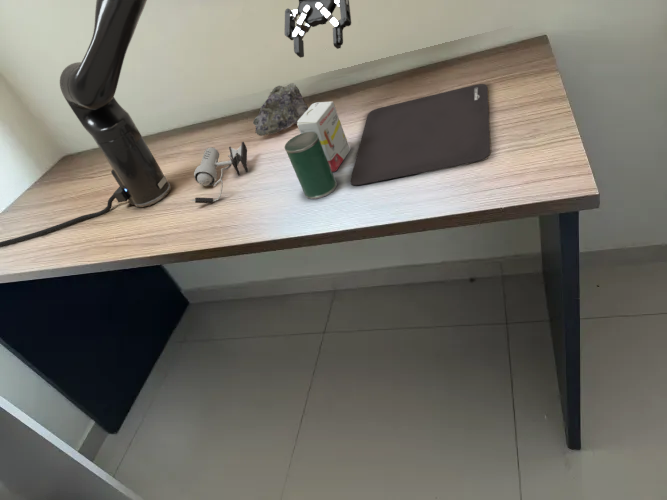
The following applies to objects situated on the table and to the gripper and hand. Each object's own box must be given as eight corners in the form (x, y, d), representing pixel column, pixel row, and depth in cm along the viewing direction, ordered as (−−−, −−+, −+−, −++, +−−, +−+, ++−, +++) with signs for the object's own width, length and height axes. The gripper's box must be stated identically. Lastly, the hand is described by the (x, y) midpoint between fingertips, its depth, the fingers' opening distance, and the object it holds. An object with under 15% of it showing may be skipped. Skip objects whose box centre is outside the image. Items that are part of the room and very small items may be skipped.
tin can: (300, 201, 126) (279, 153, 119) (310, 181, 130) (291, 135, 124) (331, 197, 123) (311, 148, 117) (340, 177, 128) (322, 129, 121)
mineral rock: (258, 142, 154) (241, 105, 149) (266, 122, 163) (250, 86, 157) (308, 129, 151) (292, 91, 145) (313, 108, 159) (299, 71, 153)
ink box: (336, 172, 130) (316, 121, 123) (315, 173, 132) (294, 123, 126) (351, 149, 135) (333, 99, 129) (331, 151, 138) (312, 102, 131)
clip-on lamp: (240, 209, 137) (253, 152, 148) (229, 189, 132) (243, 131, 144) (190, 216, 140) (207, 158, 151) (178, 196, 135) (196, 138, 147)
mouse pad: (490, 159, 114) (490, 158, 114) (348, 187, 123) (348, 186, 123) (487, 82, 138) (487, 81, 138) (368, 111, 147) (368, 110, 147)
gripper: (353, -24, 134) (357, 51, 133) (293, -7, 140) (296, 65, 138) (339, -41, 128) (342, 37, 126) (276, -23, 133) (279, 52, 132)
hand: (318, 51), depth 132 cm, fingers open, 8 cm apart
